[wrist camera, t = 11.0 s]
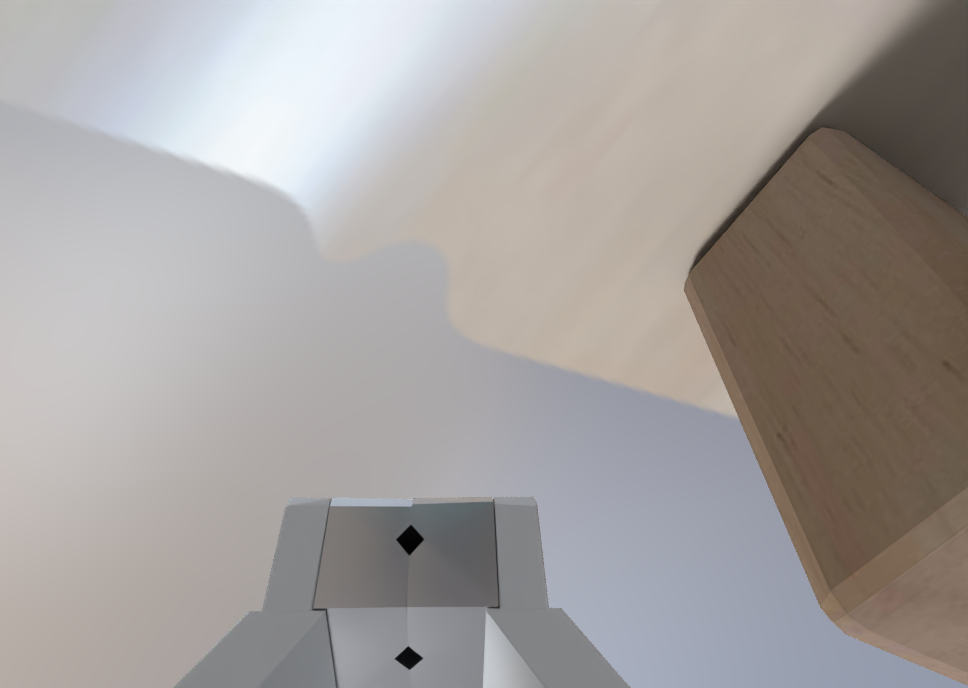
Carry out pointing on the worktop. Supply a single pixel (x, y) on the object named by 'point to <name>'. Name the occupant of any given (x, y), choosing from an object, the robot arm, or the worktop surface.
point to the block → (855, 386)
